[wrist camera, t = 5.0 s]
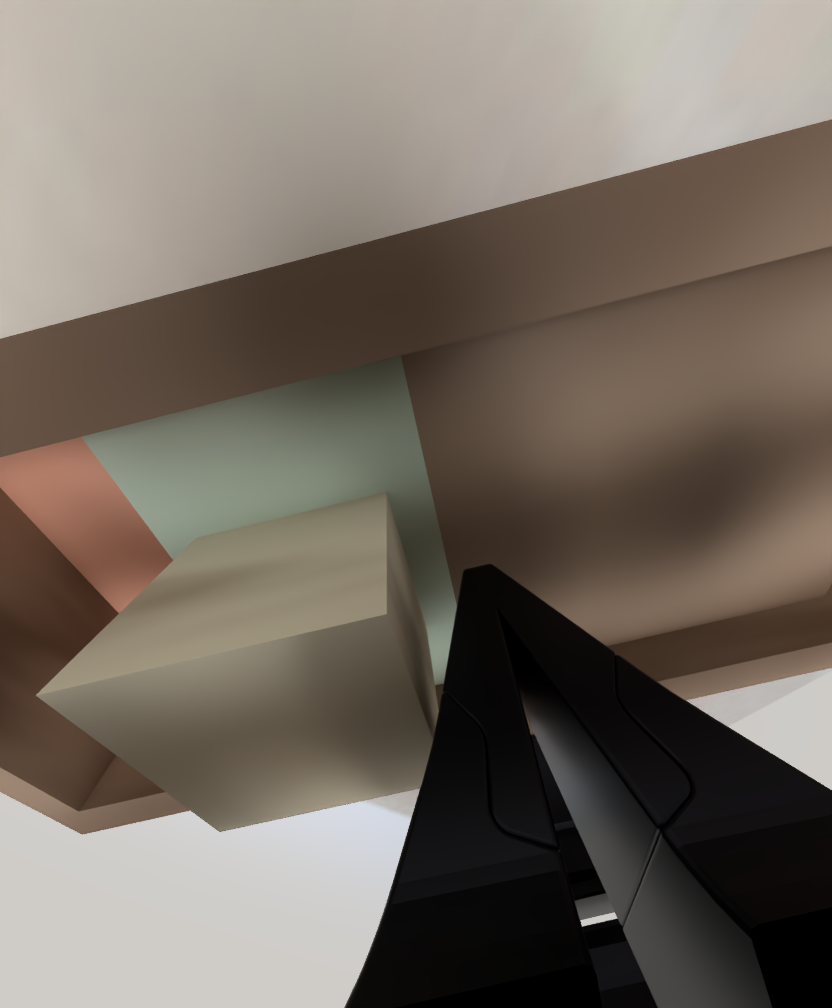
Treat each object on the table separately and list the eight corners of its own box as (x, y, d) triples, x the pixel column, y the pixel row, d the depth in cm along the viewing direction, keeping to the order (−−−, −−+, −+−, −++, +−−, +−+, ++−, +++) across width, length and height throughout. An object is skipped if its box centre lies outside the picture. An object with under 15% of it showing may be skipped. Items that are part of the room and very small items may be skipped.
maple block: (426, 627, 10) (449, 782, 6) (278, 661, 10) (219, 832, 6) (386, 492, 8) (387, 614, 4) (196, 537, 8) (35, 696, 4)
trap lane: (872, 523, 15) (1105, 606, 10) (176, 685, 16) (82, 834, 11) (1095, 114, 9) (2008, -192, 4) (-82, 419, 10) (-578, 491, 5)
